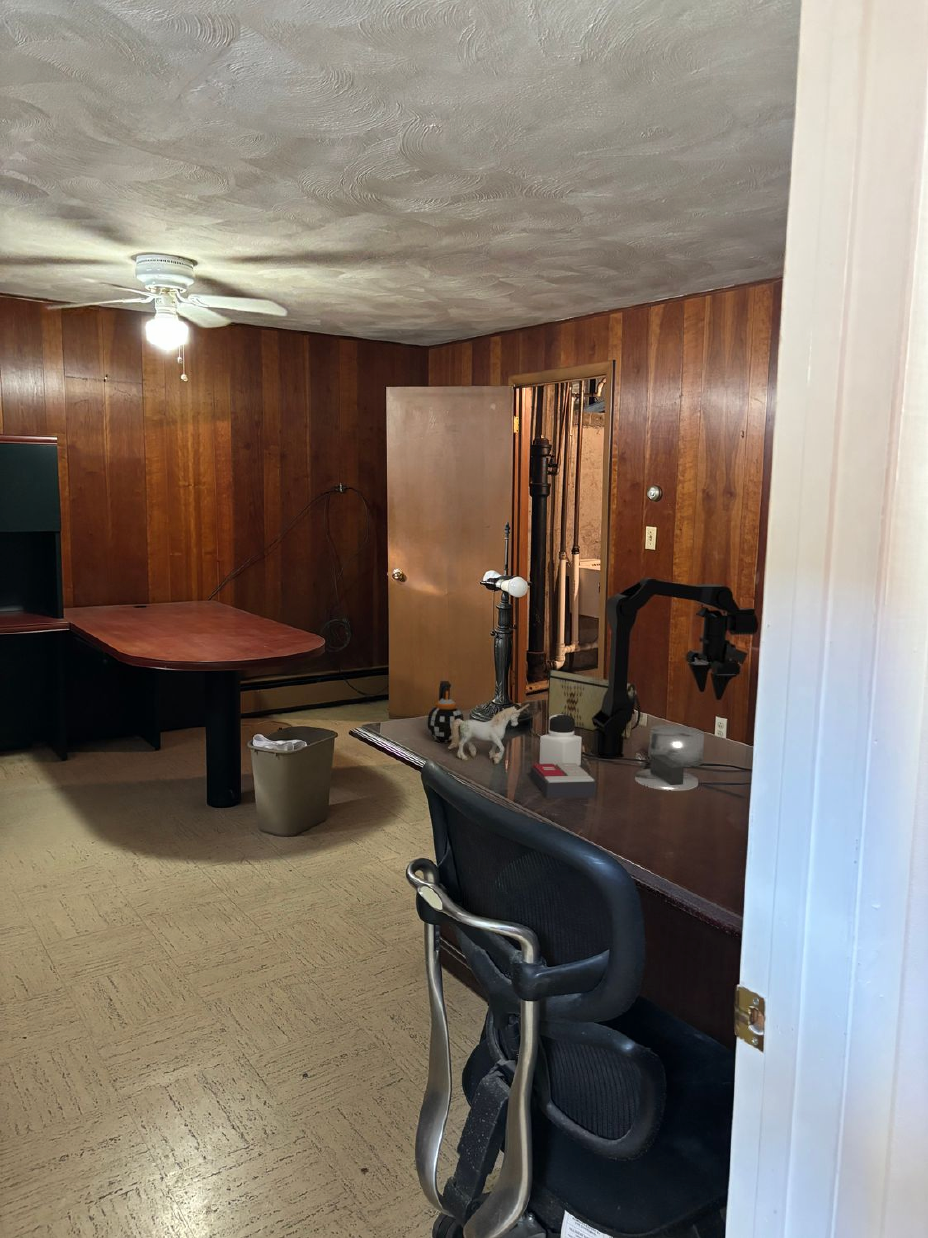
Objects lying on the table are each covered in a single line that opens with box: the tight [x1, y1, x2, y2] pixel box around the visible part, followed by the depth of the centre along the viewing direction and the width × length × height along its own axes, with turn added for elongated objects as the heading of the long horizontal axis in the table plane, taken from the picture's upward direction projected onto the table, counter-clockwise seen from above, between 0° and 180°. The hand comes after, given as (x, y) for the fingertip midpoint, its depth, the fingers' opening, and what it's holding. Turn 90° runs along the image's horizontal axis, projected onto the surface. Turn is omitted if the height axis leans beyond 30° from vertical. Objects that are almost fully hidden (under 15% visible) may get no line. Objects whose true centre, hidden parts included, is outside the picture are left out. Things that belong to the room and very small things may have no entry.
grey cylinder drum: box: [647, 724, 705, 768], centre depth 218 cm, size 13×13×7 cm
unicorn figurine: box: [447, 703, 530, 765], centre depth 213 cm, size 7×20×13 cm, turn 90°
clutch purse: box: [546, 669, 642, 740], centre depth 246 cm, size 30×7×15 cm, turn 49°
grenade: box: [426, 680, 465, 745], centre depth 230 cm, size 11×10×15 cm
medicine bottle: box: [538, 714, 583, 767], centre depth 210 cm, size 7×7×12 cm
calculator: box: [530, 763, 598, 800], centre depth 195 cm, size 11×4×15 cm
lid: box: [634, 754, 699, 792], centre depth 201 cm, size 14×14×5 cm
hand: (710, 695), depth 225 cm, fingers open, 9 cm apart
